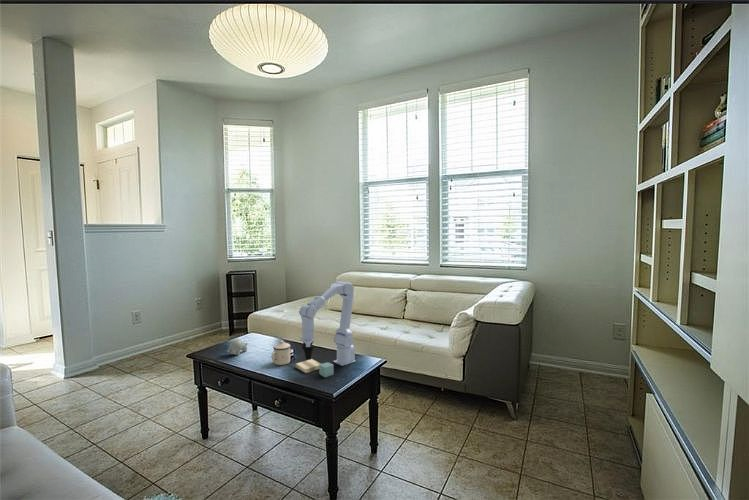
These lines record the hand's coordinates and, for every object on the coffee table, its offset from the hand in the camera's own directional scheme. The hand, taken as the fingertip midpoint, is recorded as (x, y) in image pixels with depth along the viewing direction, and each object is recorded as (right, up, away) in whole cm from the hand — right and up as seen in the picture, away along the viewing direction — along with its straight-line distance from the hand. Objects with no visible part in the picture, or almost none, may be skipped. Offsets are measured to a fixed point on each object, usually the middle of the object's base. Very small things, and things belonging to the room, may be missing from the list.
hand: (308, 356), depth 174 cm
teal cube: (+9, -10, +2) cm, 13 cm away
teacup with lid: (-18, -9, +17) cm, 26 cm away
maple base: (-2, -9, +11) cm, 14 cm away
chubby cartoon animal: (-46, -8, +31) cm, 56 cm away
